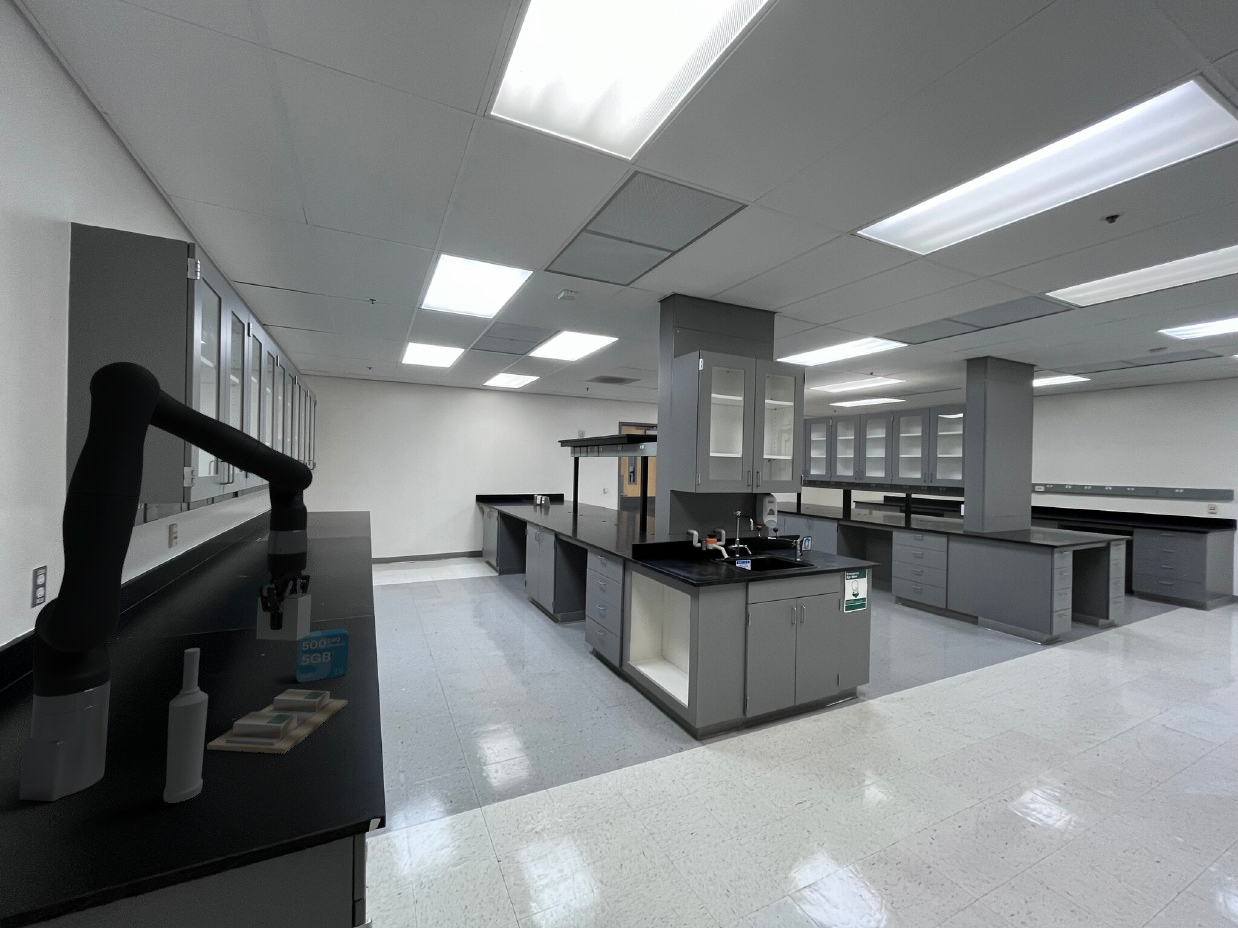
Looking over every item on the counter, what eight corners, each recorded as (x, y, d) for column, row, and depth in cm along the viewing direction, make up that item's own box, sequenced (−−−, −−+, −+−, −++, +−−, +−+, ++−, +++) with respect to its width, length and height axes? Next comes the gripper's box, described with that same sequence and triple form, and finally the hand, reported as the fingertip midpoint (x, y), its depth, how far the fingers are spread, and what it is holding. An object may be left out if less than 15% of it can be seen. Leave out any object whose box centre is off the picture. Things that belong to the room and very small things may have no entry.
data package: (295, 683, 133) (298, 638, 133) (295, 677, 136) (298, 633, 137) (347, 675, 139) (349, 631, 140) (345, 669, 143) (348, 627, 143)
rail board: (284, 753, 100) (286, 732, 100) (207, 749, 101) (208, 727, 101) (347, 704, 122) (348, 686, 122) (283, 700, 123) (284, 682, 123)
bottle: (210, 786, 89) (218, 645, 90) (186, 806, 84) (195, 655, 85) (180, 786, 89) (189, 644, 90) (154, 805, 84) (164, 654, 85)
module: (296, 640, 110) (298, 598, 110) (256, 638, 110) (258, 596, 111) (309, 633, 115) (311, 593, 115) (270, 632, 115) (272, 591, 115)
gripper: (282, 555, 106) (278, 637, 105) (323, 545, 120) (320, 617, 120) (247, 554, 106) (243, 635, 106) (292, 544, 120) (288, 616, 120)
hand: (284, 625), depth 113 cm, fingers closed on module, 4 cm apart
